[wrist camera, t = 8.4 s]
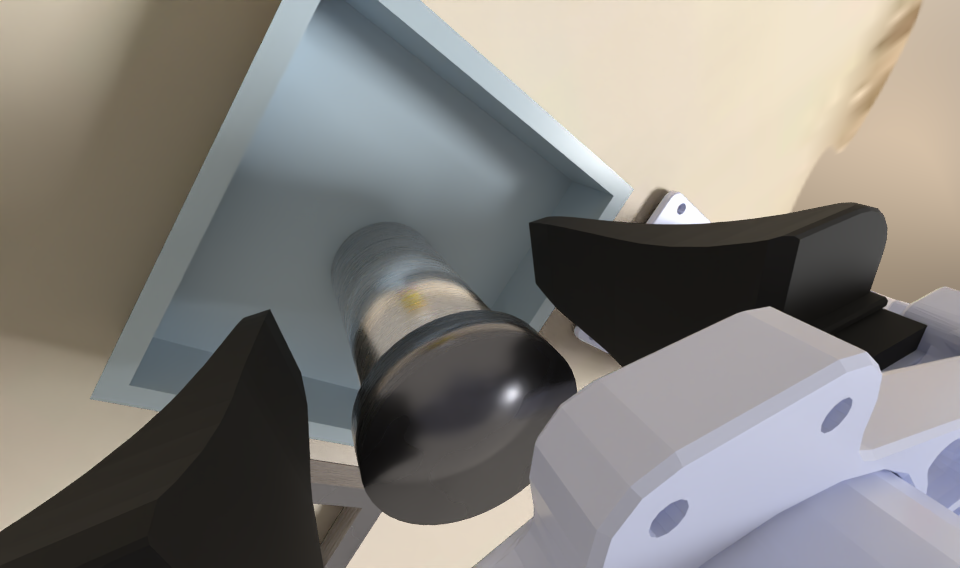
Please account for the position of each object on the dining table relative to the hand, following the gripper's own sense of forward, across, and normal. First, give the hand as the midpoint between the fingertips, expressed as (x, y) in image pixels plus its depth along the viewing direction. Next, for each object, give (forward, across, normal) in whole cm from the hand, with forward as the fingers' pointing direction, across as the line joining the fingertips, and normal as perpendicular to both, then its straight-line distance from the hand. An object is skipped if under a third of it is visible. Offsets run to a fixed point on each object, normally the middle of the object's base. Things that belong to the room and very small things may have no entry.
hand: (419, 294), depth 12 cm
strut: (+4, 0, +1) cm, 4 cm away
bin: (+4, 0, 0) cm, 4 cm away
